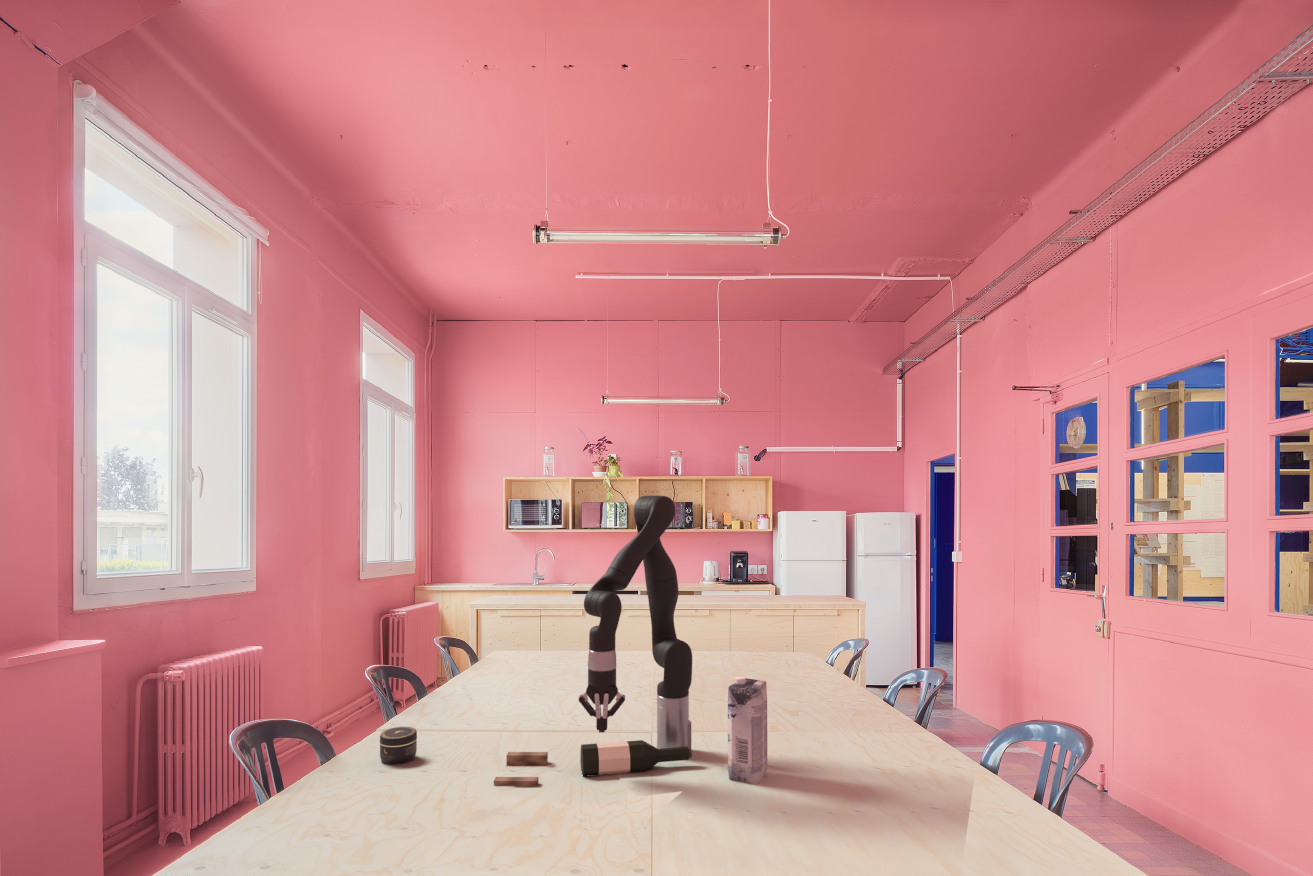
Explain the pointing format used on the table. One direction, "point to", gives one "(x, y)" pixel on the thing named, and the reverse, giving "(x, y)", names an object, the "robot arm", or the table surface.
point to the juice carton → (747, 730)
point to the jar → (398, 745)
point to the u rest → (523, 760)
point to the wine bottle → (626, 757)
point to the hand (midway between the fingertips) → (601, 731)
